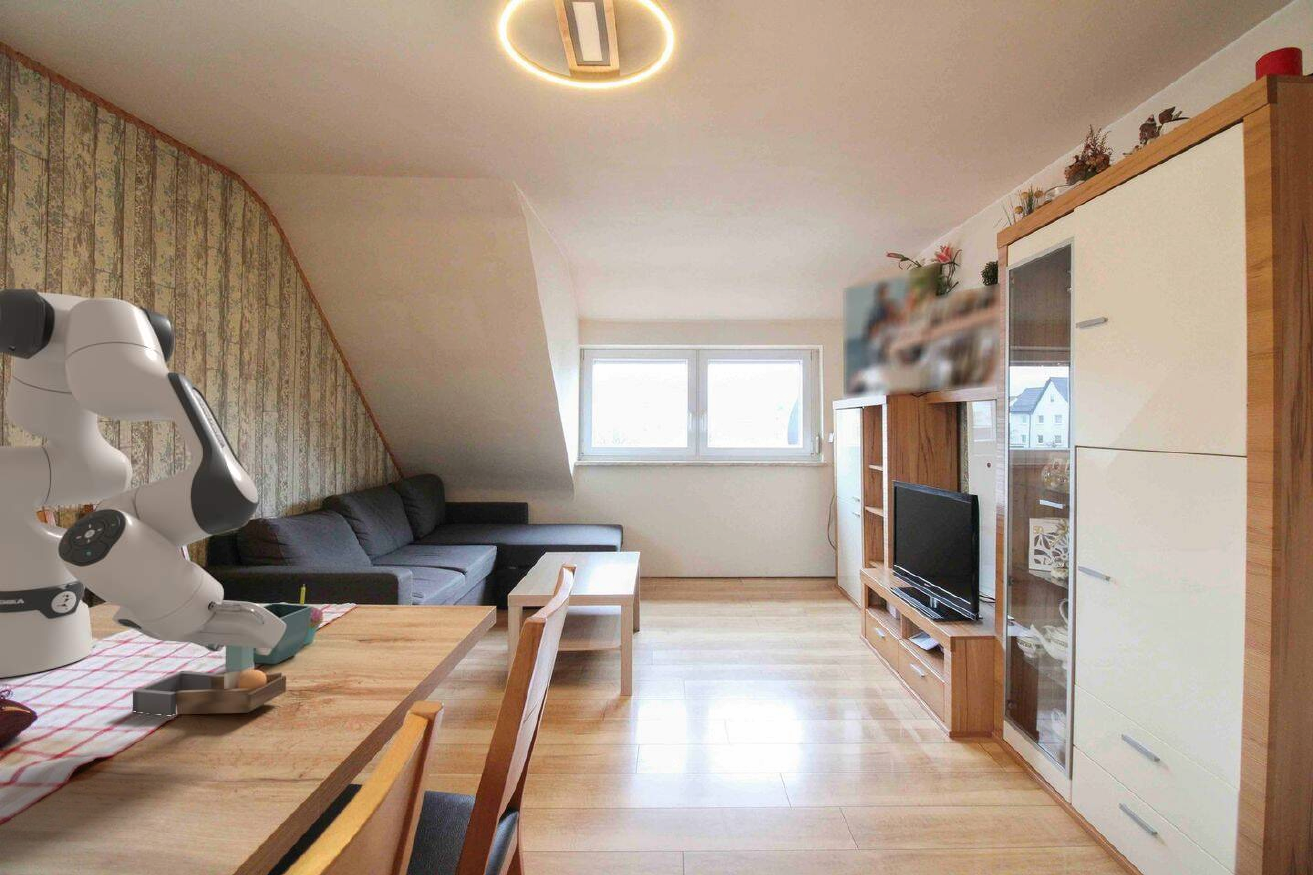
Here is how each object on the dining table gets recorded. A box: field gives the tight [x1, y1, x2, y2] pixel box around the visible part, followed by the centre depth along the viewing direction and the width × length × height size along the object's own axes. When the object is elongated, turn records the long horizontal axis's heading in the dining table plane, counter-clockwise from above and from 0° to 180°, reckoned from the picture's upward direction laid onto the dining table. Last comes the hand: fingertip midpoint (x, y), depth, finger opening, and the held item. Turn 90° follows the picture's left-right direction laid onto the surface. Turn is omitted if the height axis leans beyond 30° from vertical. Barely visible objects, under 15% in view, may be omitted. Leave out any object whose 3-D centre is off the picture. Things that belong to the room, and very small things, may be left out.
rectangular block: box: [223, 645, 255, 689], centre depth 87 cm, size 3×4×11 cm, turn 171°
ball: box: [237, 669, 267, 692], centre depth 87 cm, size 4×4×4 cm
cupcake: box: [299, 583, 324, 646], centre depth 115 cm, size 9×8×12 cm
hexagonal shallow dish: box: [175, 672, 287, 715], centre depth 88 cm, size 13×6×4 cm, turn 81°
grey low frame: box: [132, 670, 219, 716], centre depth 89 cm, size 7×8×3 cm
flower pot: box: [253, 602, 313, 665], centre depth 107 cm, size 9×9×9 cm
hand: (243, 648), depth 88 cm, fingers open, 7 cm apart
